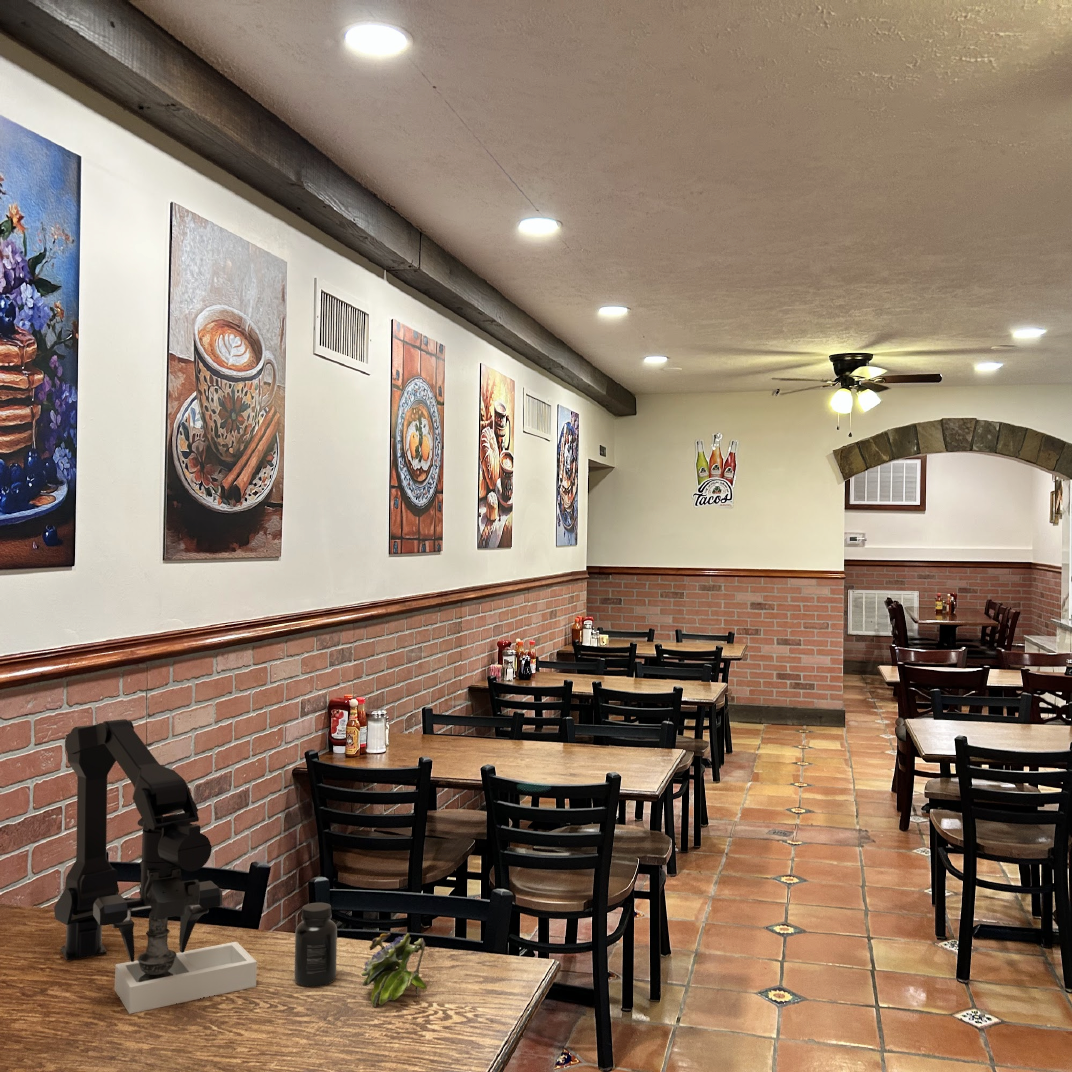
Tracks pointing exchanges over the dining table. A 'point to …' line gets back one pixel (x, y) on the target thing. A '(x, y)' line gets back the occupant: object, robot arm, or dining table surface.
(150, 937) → the grey stone turned post
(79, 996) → the dining table surface
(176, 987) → the condiment caddy
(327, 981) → the supplement bottle
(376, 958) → the passion flower
